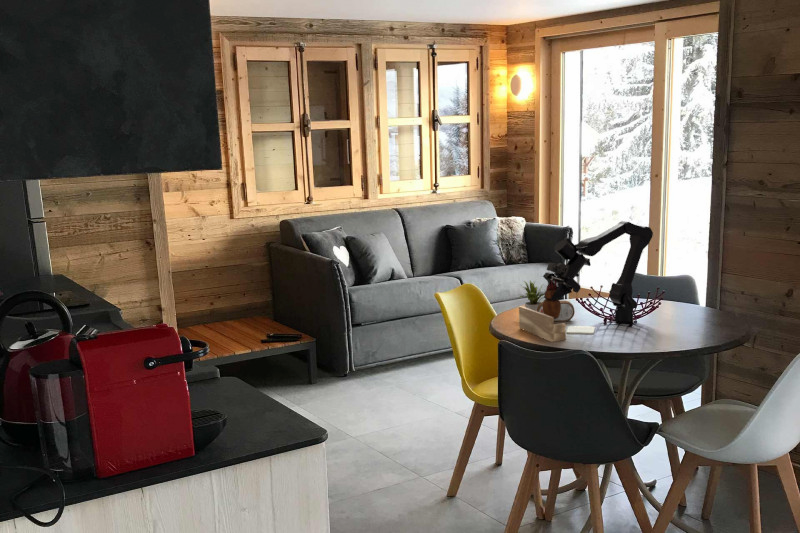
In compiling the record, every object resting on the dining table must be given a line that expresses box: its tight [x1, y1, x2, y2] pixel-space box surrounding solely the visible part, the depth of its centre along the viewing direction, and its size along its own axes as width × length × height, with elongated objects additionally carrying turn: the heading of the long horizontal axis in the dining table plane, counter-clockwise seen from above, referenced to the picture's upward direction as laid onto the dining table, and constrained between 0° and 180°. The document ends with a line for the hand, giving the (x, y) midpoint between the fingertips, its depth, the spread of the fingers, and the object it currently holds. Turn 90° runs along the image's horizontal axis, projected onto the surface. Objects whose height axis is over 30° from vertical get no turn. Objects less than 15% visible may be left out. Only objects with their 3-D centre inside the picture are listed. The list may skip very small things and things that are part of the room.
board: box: [566, 325, 596, 335], centre depth 302 cm, size 10×10×1 cm
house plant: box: [518, 279, 548, 311], centre depth 328 cm, size 14×14×16 cm
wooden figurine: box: [542, 279, 561, 319], centre depth 300 cm, size 7×6×15 cm
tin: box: [537, 300, 576, 323], centre depth 320 cm, size 15×3×8 cm, turn 84°
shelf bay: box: [518, 305, 567, 342], centre depth 299 cm, size 6×24×9 cm, turn 20°
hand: (548, 299), depth 299 cm, fingers closed on wooden figurine, 5 cm apart
